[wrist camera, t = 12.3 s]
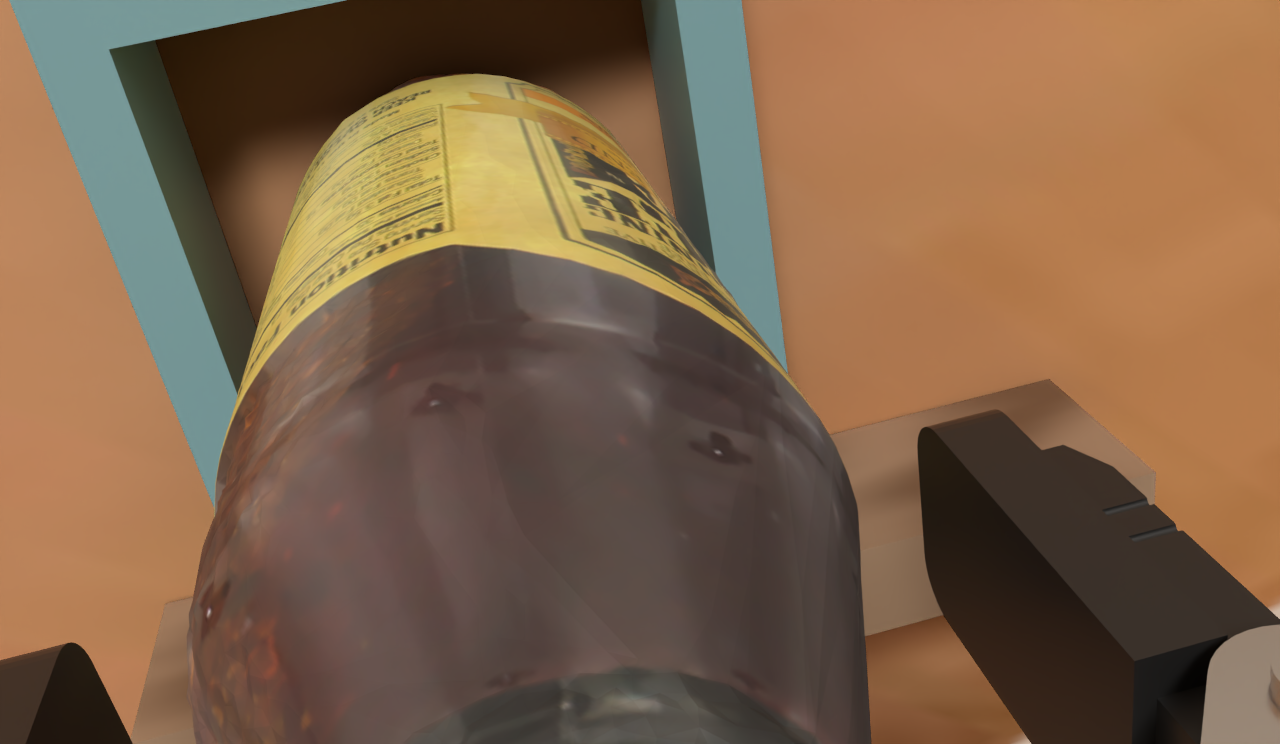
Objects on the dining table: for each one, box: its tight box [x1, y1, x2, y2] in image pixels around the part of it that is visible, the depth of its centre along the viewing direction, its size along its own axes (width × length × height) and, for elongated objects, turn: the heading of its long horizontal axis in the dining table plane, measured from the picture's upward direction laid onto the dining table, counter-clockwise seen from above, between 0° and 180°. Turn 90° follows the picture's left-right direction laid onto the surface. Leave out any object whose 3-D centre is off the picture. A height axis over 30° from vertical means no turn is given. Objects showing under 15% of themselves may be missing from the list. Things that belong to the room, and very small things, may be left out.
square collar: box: [10, 0, 788, 507], centre depth 20 cm, size 10×11×3 cm
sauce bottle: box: [186, 73, 871, 744], centre depth 13 cm, size 6×6×20 cm
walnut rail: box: [131, 379, 1156, 744], centre depth 24 cm, size 19×2×4 cm, turn 100°
